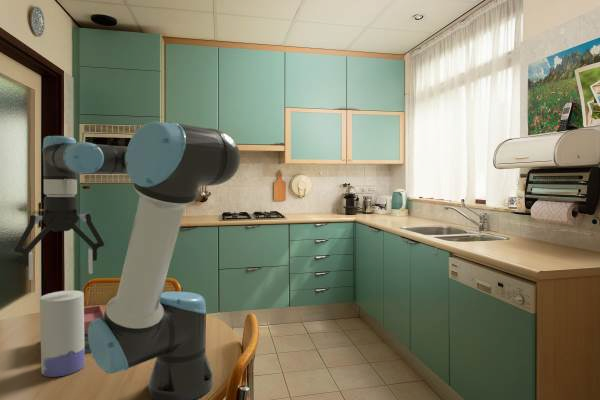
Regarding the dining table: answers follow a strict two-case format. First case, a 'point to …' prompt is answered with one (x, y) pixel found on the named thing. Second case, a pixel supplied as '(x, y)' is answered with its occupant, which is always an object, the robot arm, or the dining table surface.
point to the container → (62, 333)
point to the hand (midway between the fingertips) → (61, 275)
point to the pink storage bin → (92, 315)
